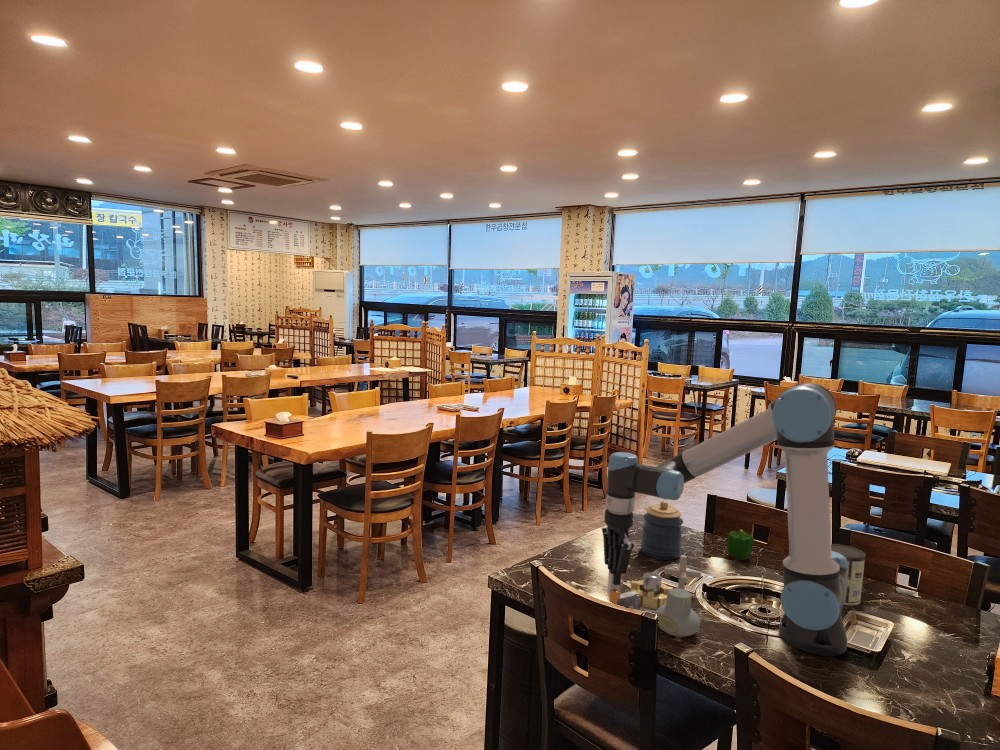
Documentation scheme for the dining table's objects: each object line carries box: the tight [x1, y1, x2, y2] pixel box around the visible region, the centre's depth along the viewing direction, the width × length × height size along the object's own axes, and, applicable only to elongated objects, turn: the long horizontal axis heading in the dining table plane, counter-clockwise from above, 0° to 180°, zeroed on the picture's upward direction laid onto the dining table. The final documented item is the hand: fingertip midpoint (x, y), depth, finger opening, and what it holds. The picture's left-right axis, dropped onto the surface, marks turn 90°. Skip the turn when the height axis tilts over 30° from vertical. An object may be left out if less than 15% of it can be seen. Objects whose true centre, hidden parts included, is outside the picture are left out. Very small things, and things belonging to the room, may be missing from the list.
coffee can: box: [831, 543, 867, 606], centre depth 177 cm, size 10×10×14 cm
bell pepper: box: [726, 529, 754, 561], centre depth 204 cm, size 8×8×10 cm
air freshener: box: [655, 587, 701, 638], centre depth 154 cm, size 11×8×10 cm
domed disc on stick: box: [608, 579, 673, 609], centre depth 165 cm, size 20×11×4 cm, turn 118°
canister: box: [640, 500, 684, 561], centre depth 204 cm, size 13×13×18 cm
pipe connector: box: [663, 554, 702, 590], centre depth 177 cm, size 10×10×10 cm
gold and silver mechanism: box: [628, 571, 663, 613], centre depth 165 cm, size 14×21×8 cm, turn 124°
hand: (613, 594), depth 167 cm, fingers closed
